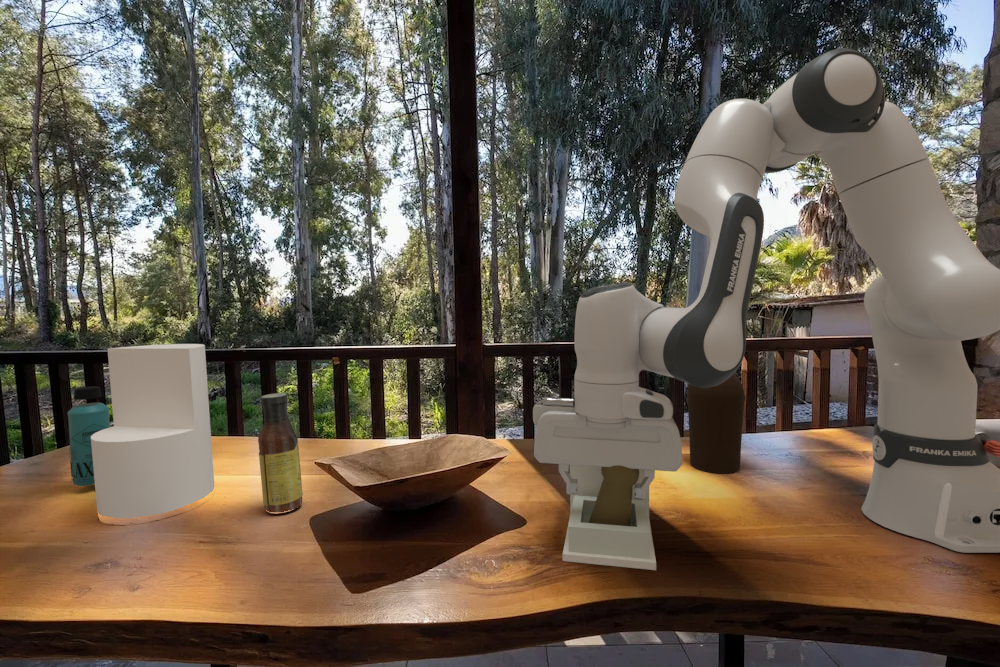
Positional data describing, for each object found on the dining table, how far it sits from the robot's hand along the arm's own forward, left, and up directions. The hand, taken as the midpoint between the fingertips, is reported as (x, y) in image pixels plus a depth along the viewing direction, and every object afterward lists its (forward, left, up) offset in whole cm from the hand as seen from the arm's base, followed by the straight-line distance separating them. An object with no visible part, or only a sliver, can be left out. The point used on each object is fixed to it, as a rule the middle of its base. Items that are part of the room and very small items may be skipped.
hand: (605, 495), depth 69 cm
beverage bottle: (+99, -4, -7) cm, 99 cm away
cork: (0, 0, -6) cm, 6 cm away
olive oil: (-21, -36, -7) cm, 43 cm away
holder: (0, 0, -7) cm, 7 cm away
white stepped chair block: (+79, 0, -7) cm, 79 cm away
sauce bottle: (+55, -2, -7) cm, 55 cm away
